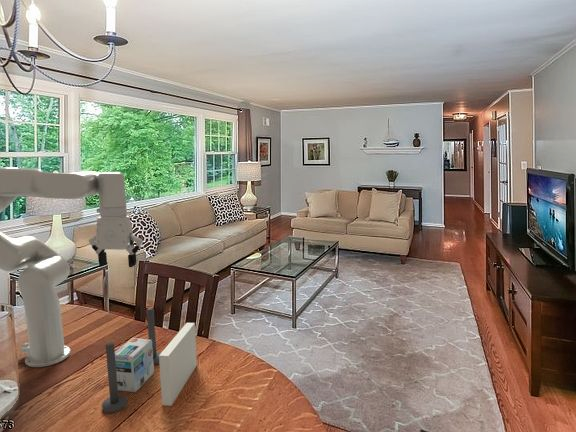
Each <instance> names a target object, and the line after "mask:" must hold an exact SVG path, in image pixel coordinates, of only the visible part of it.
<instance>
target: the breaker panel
mask: <svg viewBox="0 0 576 432" xmlns="http://www.w3.org/2000/svg"><path fill="white" fill-rule="evenodd" d="M196 341H197V340H196V323H195V322H186V323H185V324H184V325H183V327H182V328H181V329H180V330H179V331H178V332H177V334H175V336H174V337H173V339H172V340H170V342H169V343H168V345H166V347H165V348H164V349H163V350H162V351H161V352H160V353H161V354H160V355H159V374H160V375H159V376H160V377H159V379H160V392H161V393H160V394H161V405H162V406H168V407H169V406H170V407H171V406H172V405H173V404H174V402H175V401H176V399H177V397H178V396H179V395H180V393H181V392H182V389H183V388H184V387H185V385H186V383H187V382H188V380H189V378H190V377H191V375H193V372H194V370H195V369H196V367H197V366H198V363H197V362H198V361H197V359H198V358H197V342H196Z"/></svg>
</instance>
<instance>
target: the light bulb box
mask: <svg viewBox="0 0 576 432" xmlns="http://www.w3.org/2000/svg"><path fill="white" fill-rule="evenodd" d="M115 361H116V373H117V386H118V391H122V392H128V393H129V392H131V393H136V392H137V391H139V389H140V388H141V387H142V386H143V385H144V384H145V383H146V382H147V381H148V380H149V379H150V378H151V377H152V376H153V375H154V373H155V367H154V366H155V365H154V364H153V348H152V340H149V338H148V339H147V338H137V337H131V338H130V339H129V340H128V341H127V342H125V343H124V344H123V345H122V346H120V348H118V349H117V350H115Z"/></svg>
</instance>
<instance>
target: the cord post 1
mask: <svg viewBox="0 0 576 432" xmlns="http://www.w3.org/2000/svg"><path fill="white" fill-rule="evenodd" d="M115 352H116V349H115V343H114V342H108V343H106V344H105V356H106V367H107V369H106V370H107V376H108V377H107V379H108V388H109V397H107V398H106V399H105V400H104V401H102V403H101V409H102V412H103V413H105V414H115V413H119V412H120V411H123V410H124V409H125V408H126V407H127V405H128V397H127V396H125V395H123V394H119V390H118V386H117V373H116V361H115Z"/></svg>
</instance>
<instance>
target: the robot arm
mask: <svg viewBox="0 0 576 432" xmlns="http://www.w3.org/2000/svg"><path fill="white" fill-rule="evenodd" d="M97 195H98V201H99V208H96V213H97V214H98V213H99V216H98V217H97V220H96V221H97V223H96V236H93V237H92V238H90V239H89V240H88V243H89V244H90V246H91V248H92V249H93V251H94V252H95V253H96V255H97V258H98V264H99V267H101V268H102V267H104V266H107V264H108V260H107V259H108V258H107V257H108V256H107V252H106V250H112V251H113V250H116V251H117V250H118V251H119V250H121V251H122V250H126V252H128V253H129V254H128V255H127V258H128V259H127V260H128V268H133V267H135V266H136V265H137V253H138V251H140V250H141V248H142V245H143V243H144V239H142V238H140V237H138V236H136V235H134V232H133V225H132V221H131V219H130V216H129V215H128V212H127V209H128V208H127V199H126V196H127V195H126V183H125V176H124V174H123V173H122V172H119V171H106V172H105V171H104V172H100V171H99V172H98V171H78V172H49V171H47V172H46V171H43V170H42V169H41V168H40V169H39V168H20V167H19V168H18V167H14V166H6V167H5V166H3V167H0V214H1V213H2V212H3V211H4V210H6V209H7V207H9V206H10V205H11V204H12V203H13V202H15V200H16V199H17V198H19V197H27V198H28V197H31V198H44V199H45V198H46V199H57V200H58V199H60V200H62V199H63V200H64V199H65V200H66V199H69V200H73V199H74V200H75V199H76V200H78V199H82V198H86V197H87V198H88V197H92V196H97ZM134 242H135V243H136V244H135V243H134ZM134 244H135V246H134ZM26 266H27V267H26ZM24 267H26V268H24ZM22 268H24V269H23V270H22V271H21V273H20V274H19V276H18V279H17V284H18V289H19V292H20V295H21V298H22V302H23V306H24V307H23V308H24V314H25V322H26V329H27V337H28V343H27V342H24V343H23V344H22V345H21V348H20V350H19V352H20V353H26V355H27V356H26V357H25V359H24V363H25V365H26V366H27V365H28V366H27V367H31V368H44V367H49V366H52V365H55V364H56V365H57V364H58V363H60V362H63V361H64V360H65V359H67V358H68V357H69V356H70V355H71V348H70V347H69V346H67V345H65V339H64V329H63V319H62V311H61V303H60V298H59V296H58V294H57V292H56V289H55V287H57V286H58V285H59V284H61V283H62V282H65V280H66V279H67V278H68V276H69V275H70V271H71V269H70V265H69V263H68V262H67V260H66V258H64V257H63V256H61V254H59V253H57V251H55V250H54V249H53V248H51V247H50V246H49V245H47V244H46V243H44V241H42V240H40V239H38V238H37V237H35V236H31V235H20V236H18V237H15V238H14V237H11V236H9V235H7V234H5V232H3V231H1V230H0V270H2V271H4V272H15V271H18V270H20V269H22Z"/></svg>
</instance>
